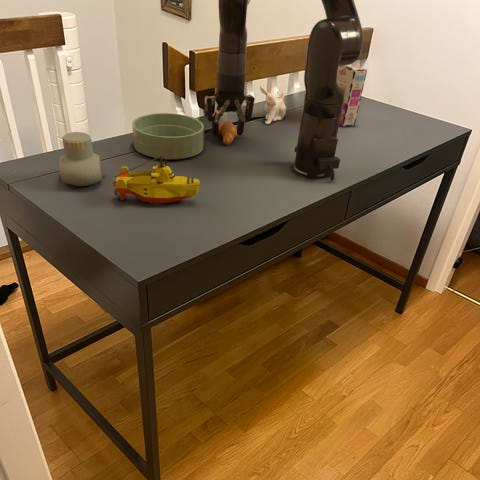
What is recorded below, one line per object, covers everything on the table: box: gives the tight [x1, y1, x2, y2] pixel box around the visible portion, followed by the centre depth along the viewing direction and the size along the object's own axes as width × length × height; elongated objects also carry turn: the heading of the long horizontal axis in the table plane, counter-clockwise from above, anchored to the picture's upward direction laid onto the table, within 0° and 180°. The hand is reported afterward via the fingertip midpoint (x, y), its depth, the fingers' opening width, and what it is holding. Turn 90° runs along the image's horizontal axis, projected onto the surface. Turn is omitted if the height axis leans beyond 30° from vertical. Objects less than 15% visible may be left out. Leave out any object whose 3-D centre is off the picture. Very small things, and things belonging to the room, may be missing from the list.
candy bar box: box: [337, 63, 368, 128], centre depth 148 cm, size 11×5×16 cm, turn 25°
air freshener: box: [59, 131, 103, 187], centre depth 103 cm, size 11×8×10 cm
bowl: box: [131, 112, 205, 160], centre depth 123 cm, size 18×18×6 cm
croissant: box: [218, 120, 238, 146], centre depth 132 cm, size 5×11×4 cm, turn 21°
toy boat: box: [112, 156, 201, 204], centre depth 99 cm, size 6×18×10 cm, turn 93°
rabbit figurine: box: [259, 83, 287, 125], centre depth 147 cm, size 12×8×10 cm, turn 138°
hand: (227, 135), depth 133 cm, fingers open, 6 cm apart
